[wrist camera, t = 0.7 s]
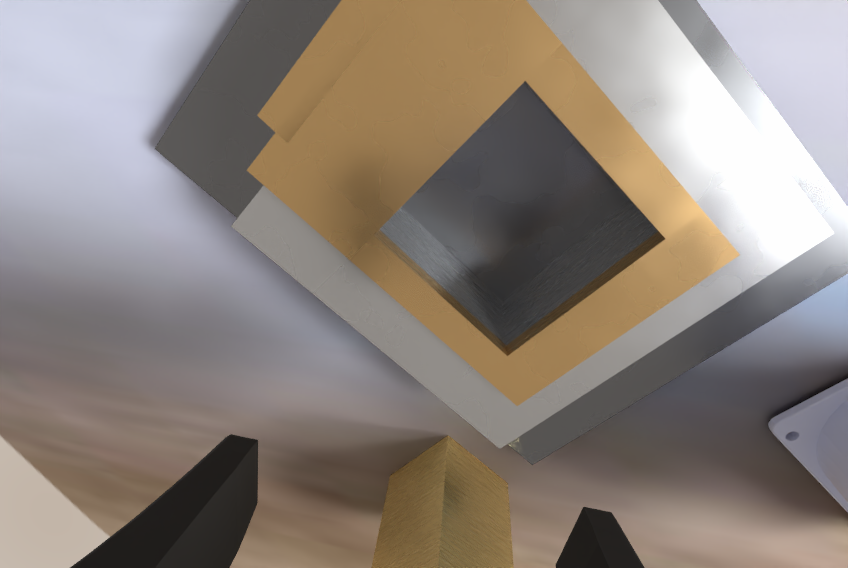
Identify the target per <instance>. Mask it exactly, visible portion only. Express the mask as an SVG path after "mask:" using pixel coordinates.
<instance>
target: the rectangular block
mask: <svg viewBox="0 0 848 568" xmlns="http://www.w3.org/2000/svg"><path fill="white" fill-rule="evenodd" d="M372 568H514V567H513V552H512V538H511V524H510V510H509V495H508V483H507V482H505V481H504V480H503V479H502V478H500V477H499V476H498V475H497V474H496V473H494V472H493V471H492V470H491V469H489V468H488V467H487V466H486V465H484V464H483V463H482V462H481V461H479V460H478V459H477V458H476V457H474V456H473V455H472V454H471V453H470V452H468V451H467V450H466V449H465V448H463V447H462V446H461V445H460V444H458V443H457V442H456V441H455V440H453V439H452V438H451V437H450V436H446V437H445V438H443V439H442V440H441V441H439V442H438V443H436V444H435V445H433V446H432V447H431V448H429V449H428V450H426V451H425V452H423V453H422V454H421V455H419V456H418V457H416V458H415V459H413V460H412V461H411V462H409V463H408V464H406V465H405V466H403V467H402V468H401V469H399V470H398V471H396V472H395V473H393V474H392V475H391V476H390V479H389V484H388V489H387V494H386V499H385V504H384V509H383V514H382V519H381V524H380V529H379V534H378V538H377V543H376V548H375V553H374V558H373V563H372Z"/></svg>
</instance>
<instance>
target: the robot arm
mask: <svg viewBox="0 0 848 568" xmlns="http://www.w3.org/2000/svg"><path fill="white" fill-rule="evenodd" d="M768 427H769V429H770V430H771V432H772V433H773V434H774V435H775V436H776V437H777V438H778V439H779V441H780V442H781V443H782V444H783V445H784V446H785V447H786V448H787V449H788V450H789V451H790V452H791V453H792V454H793V455H794V456H795V457H796V459H797V460H798V461H799V462H800V463H801V464H802V465H803V466H804V467H805V468H806V469H807V470H808V471H809V472H810V473H811V474H812V475H813V476H814V478H815V479H816V480H817V481H818V482H819V483H820V484H821V485H822V486H823V487H824V488H825V489H826V490H827V491H828V492H829V493H830V494H831V496H832V497H833V498H834V499H835V500H836V501H837V502H838V503H839V504H840V505H841V506H842V507H843V508H844V509H845V510H846V511H847V512H848V378H847V379H845V380H844V381H842V382H840V383H838V384H836V385H834V386H832V387H830V388H828V389H826V390H824V391H823V392H821V393H819V394H817V395H815V396H813V397H811V398H809V399H807V400H805V401H804V402H802V403H800V404H798V405H796V406H794V407H792V408H790V409H788V410H786V411H784V412H783V413H781V414H779V415H777V416H775V417H774V418H772V419H771V420H770V422H769V425H768ZM789 432H791V433H789ZM788 433H789V434H788ZM257 490H258V440H255V439H250V438H245V437H241V436H236V435H229V436H227V437H226V438H225V439H224V440H223V441H221V442H220V443H219V444H218V445H217V446H216V447H215V448H214V449H213V450H212V451H211V452H210V453H209V454H208V455H206V456H205V457H204V458H203V459H202V460H201V461H200V462H199V463H198V464H197V465H196V466H194V467H193V468H192V469H191V470H190V471H189V472H188V473H187V474H185V475H184V476H183V477H182V478H181V479H180V480H179V481H178V482H176V483H175V484H174V485H173V486H172V487H171V488H170V489H168V490H167V491H166V492H165V493H164V494H162V495H161V496H160V497H159V498H158V499H157V500H155V501H154V502H153V503H152V504H151V505H149V506H148V507H147V508H146V509H145V510H144V511H142V512H141V513H140V514H139V515H138V516H136V517H135V518H134V519H133V520H131V521H130V522H129V523H128V524H126V525H125V526H124V527H123V528H121V529H120V530H119V531H117V532H116V533H115V534H114V535H112V536H111V537H110V538H108V539H107V540H106V541H105V542H104V543H102V544H101V545H100V546H98V547H97V548H96V549H94V550H93V551H92V552H91V553H89V554H88V555H87V556H85V557H84V558H83V559H81V560H80V561H79V562H77V563H76V564H74V565H73V566H72V567H71V568H229V567H230V565H231V564H232V562H233V560H234V558H235V556H236V554H237V552H238V550H239V547H240V545H241V542H242V540H243V538H244V535H245V533H246V530H247V528H248V525H249V523H250V520H251V518H252V515H253V513H254V510H255V508H256V505H257ZM556 568H644V566H643V564H642V563H641V561H640V559H639V558H638V556H637V554H636V553H635V551H634V549H633V547H632V546H631V544H630V542H629V541H628V539H627V537H626V536H625V534H624V532H623V531H622V529H621V527H620V525H619V524H618V522H617V520H616V519H615V517H614V516H613V514H612V513H611V512H606V511H601V510H597V509H592V508H587V507H583V509H582V511H581V513H580V515H579V517H578V520H577V522H576V524H575V526H574V528H573V530H572V532H571V534H570V536H569V538H568V540H567V542H566V544H565V547H564V549H563V551H562V553H561V555H560V557H559V559H558V561H557V563H556Z"/></svg>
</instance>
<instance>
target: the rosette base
mask: <svg viewBox="0 0 848 568" xmlns="http://www.w3.org/2000/svg"><path fill="white" fill-rule="evenodd" d="M155 149H156V150H157V151H158V152H159V153H160V154H162V155H163V156H164V157H165V158H166V159H168V160H169V161H170V162H171V163H172V164H174V165H175V166H176V167H177V168H178V169H180V170H181V171H182V172H183V173H184V174H185V175H187V176H188V177H189V178H190V179H191V180H193V181H194V182H195V183H196V184H197V185H199V186H200V187H201V188H202V189H203V190H205V191H206V192H207V193H208V194H209V195H211V196H212V197H213V198H214V199H215V200H217V201H218V202H219V203H220V204H221V205H223V206H224V207H225V208H226V209H227V210H228V211H230V212H231V213H232V214H233V215H234V216H236V217H237V219H236V221H235V222H234V223H233V224H232V226H231V227H232V228H234V229H235V230H236V231H237V232H238V233H240V234H241V235H242V236H243V237H245V238H246V239H247V240H248V241H249V242H251V243H252V244H253V245H254V246H255V247H257V248H258V249H259V250H260V251H261V252H263V253H264V254H265V255H266V256H267V257H269V258H270V259H271V260H272V261H273V262H275V263H276V264H277V265H278V266H280V267H281V268H282V269H283V270H284V271H286V272H287V273H288V274H289V275H290V276H292V277H293V278H294V279H295V280H296V281H298V282H299V283H300V284H301V285H302V286H304V287H305V288H306V289H307V290H308V291H310V292H311V293H312V294H313V295H315V296H316V297H317V298H318V299H319V300H321V301H322V302H323V303H324V304H325V305H327V306H328V307H329V308H330V309H331V310H333V311H334V312H335V313H336V314H337V315H339V316H340V317H341V318H342V319H343V320H345V321H346V322H347V323H348V324H350V325H351V326H352V327H353V328H354V329H356V330H357V331H358V332H359V333H360V334H362V335H363V336H364V337H365V338H366V339H368V340H369V341H370V342H371V343H372V344H374V345H375V346H376V347H377V348H378V349H380V350H381V351H382V352H383V353H385V354H386V355H387V356H388V357H389V358H391V359H392V360H393V361H394V362H395V363H397V364H398V365H399V366H400V367H401V368H403V369H404V370H405V371H406V372H407V373H409V374H410V375H411V376H412V377H413V378H415V379H416V380H417V381H418V382H420V383H421V384H422V385H423V386H424V387H426V388H427V389H428V390H429V391H430V392H432V393H433V394H434V395H435V396H436V397H438V398H439V399H440V400H441V401H442V402H444V403H445V404H446V405H447V406H448V407H450V408H451V409H452V410H453V411H455V412H456V413H457V414H458V415H459V416H461V417H462V418H463V419H464V420H465V421H467V422H468V423H469V424H470V425H471V426H473V427H474V428H475V429H476V430H477V431H479V432H480V433H481V434H482V435H483V436H485V437H486V438H487V439H488V440H490V441H491V442H492V443H493V444H494V445H496V446H497V447H498V448H499V449H501V448H502V447H504V446H505V445H507V444H508V445H509V446H510V447H512V448H513V449H514V450H515V451H516V452H518V453H519V454H520V455H521V456H522V457H524V458H525V459H526V460H527V461H528V462H529V463H531V464H532V465H533V464H535V463H536V462H538V461H540V460H541V459H543V458H545V457H546V456H548V455H550V454H551V453H553V452H554V451H556V450H558V449H559V448H561V447H563V446H564V445H566V444H568V443H569V442H571V441H573V440H574V439H576V438H578V437H579V436H581V435H582V434H584V433H586V432H587V431H589V430H591V429H592V428H594V427H596V426H597V425H599V424H601V423H602V422H604V421H606V420H607V419H609V418H610V417H612V416H614V415H615V414H617V413H619V412H620V411H622V410H624V409H625V408H627V407H629V406H630V405H632V404H634V403H635V402H637V401H639V400H640V399H642V398H643V397H645V396H647V395H648V394H650V393H652V392H653V391H655V390H657V389H658V388H660V387H662V386H663V385H665V384H667V383H668V382H670V381H671V380H673V379H675V378H676V377H678V376H680V375H681V374H683V373H685V372H686V371H688V370H690V369H691V368H693V367H695V366H696V365H698V364H699V363H701V362H703V361H704V360H706V359H708V358H709V357H711V356H713V355H714V354H716V353H718V352H719V351H721V350H723V349H724V348H726V347H727V346H729V345H731V344H732V343H734V342H736V341H737V340H739V339H741V338H742V337H744V336H746V335H747V334H749V333H751V332H752V331H754V330H755V329H757V328H759V327H760V326H762V325H764V324H765V323H767V322H769V321H770V320H772V319H774V318H775V317H777V316H779V315H780V314H782V313H783V312H785V311H787V310H788V309H790V308H792V307H793V306H795V305H797V304H798V303H800V302H802V301H803V300H805V299H807V298H808V297H810V296H811V295H813V294H815V293H816V292H818V291H820V290H821V289H823V288H825V287H826V286H828V285H830V284H831V283H833V282H835V281H836V280H838V279H840V278H841V277H843V276H844V275H846V274H848V207H847V206H846V204H845V203H844V202H843V200H842V199H841V197H840V196H839V195H838V193H837V192H836V191H835V189H834V188H833V186H832V185H831V184H830V182H829V181H828V180H827V178H826V177H825V176H824V174H823V173H822V171H821V170H820V169H819V167H818V166H817V165H816V163H815V162H814V160H813V159H812V158H811V156H810V155H809V154H808V152H807V151H806V150H805V148H804V147H803V145H802V144H801V143H800V141H799V140H798V139H797V137H796V136H795V134H794V133H793V132H792V130H791V129H790V128H789V126H788V125H787V124H786V122H785V121H784V119H783V118H782V117H781V115H780V114H779V113H778V111H777V110H776V108H775V107H774V106H773V104H772V103H771V102H770V100H769V99H768V98H767V96H766V95H765V93H764V92H763V91H762V89H761V88H760V87H759V85H758V84H757V82H756V81H755V80H754V78H753V77H752V76H751V74H750V73H749V72H748V70H747V69H746V67H745V66H744V65H743V63H742V62H741V61H740V59H739V58H738V56H737V55H736V54H735V52H734V51H733V50H732V48H731V47H730V46H729V44H728V43H727V41H726V40H725V39H724V37H723V36H722V35H721V33H720V32H719V30H718V29H717V28H716V26H715V25H714V24H713V22H712V21H711V20H710V18H709V17H708V15H707V14H706V13H705V11H704V10H703V9H702V7H701V6H700V4H699V3H698V2H697V0H250V1H249V3H248V5H247V6H246V8H245V9H244V11H243V12H242V14H241V15H240V17H239V18H238V20H237V22H236V23H235V25H234V26H233V28H232V29H231V31H230V32H229V34H228V36H227V37H226V39H225V40H224V42H223V43H222V45H221V46H220V48H219V50H218V51H217V53H216V54H215V56H214V57H213V59H212V60H211V62H210V64H209V65H208V67H207V68H206V70H205V71H204V73H203V74H202V76H201V78H200V79H199V81H198V82H197V84H196V85H195V87H194V88H193V90H192V91H191V93H190V95H189V96H188V98H187V99H186V101H185V102H184V104H183V105H182V107H181V109H180V110H179V112H178V113H177V115H176V116H175V118H174V119H173V121H172V123H171V124H170V126H169V127H168V129H167V130H166V132H165V133H164V135H163V137H162V138H161V140H160V141H159V143H158V144H157V146H156V147H155Z"/></svg>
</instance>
